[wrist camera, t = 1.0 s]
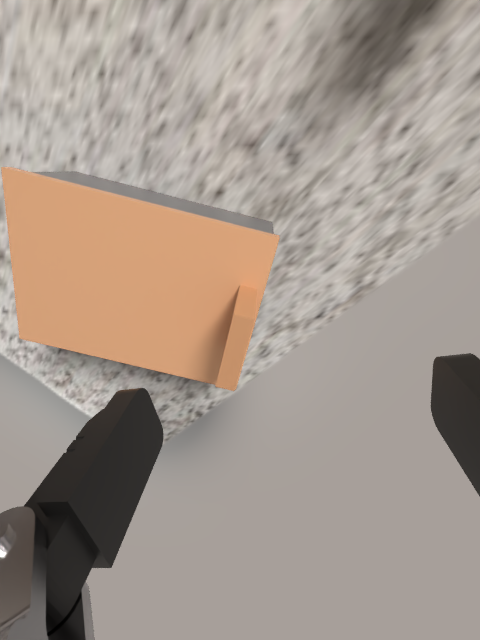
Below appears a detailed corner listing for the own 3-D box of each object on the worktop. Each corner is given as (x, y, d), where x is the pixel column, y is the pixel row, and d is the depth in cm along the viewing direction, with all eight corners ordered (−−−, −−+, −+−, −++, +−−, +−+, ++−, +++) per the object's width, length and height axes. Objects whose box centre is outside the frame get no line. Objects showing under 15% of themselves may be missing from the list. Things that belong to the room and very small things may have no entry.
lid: (31, 330, 30) (-32, 373, 24) (17, 167, 24) (-75, 166, 17) (237, 379, 31) (229, 434, 24) (278, 234, 24) (283, 257, 18)
